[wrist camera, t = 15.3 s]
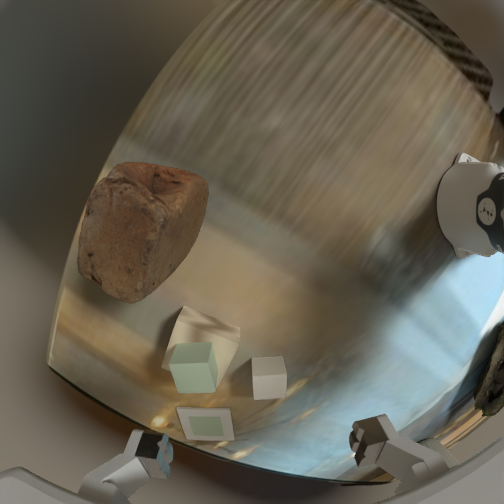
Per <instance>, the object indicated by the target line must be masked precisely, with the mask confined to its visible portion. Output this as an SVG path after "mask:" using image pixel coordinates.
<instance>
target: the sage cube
mask: <svg viewBox="0 0 504 504" xmlns="http://www.w3.org/2000/svg"><path fill="white" fill-rule="evenodd" d="M169 366H170V370H171V373H172V376H173V379H174V382H175V385H176V387H177V390H178V393H215V392H216V384H217V377H218V366H217V362H216V357H215V353H214V348H213V343H212V342H198V343H178V344H177V345H176V347H175V350H174V352H173V355H172V357H171V359H170V362H169Z"/></svg>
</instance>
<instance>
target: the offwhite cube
mask: <svg viewBox="0 0 504 504" xmlns="http://www.w3.org/2000/svg"><path fill="white" fill-rule="evenodd" d="M252 378H253V394H254V400H263V399H277V398H286V390H287V372H286V367H285V363H284V359H283V356H272V357H256V358H252Z"/></svg>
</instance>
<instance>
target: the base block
mask: <svg viewBox="0 0 504 504" xmlns="http://www.w3.org/2000/svg"><path fill="white" fill-rule="evenodd" d="M198 342H212V343H213V348H214V353H215V357H216V362H217V366H218V377H217V384H216V388H218V386H219V384H220V382H221V380H222V378H223V376H224V374H225V372H226V370H227V368H228V366H229V364H230V362H231V360H232V358H233V356H234V354H235V352H236V350H237V348H238V346H239V344H240V327H237V326H234V325H232V324H229V323H226V322H224V321H221V320H218V319H216V318H213V317H211V316H208V315H205V314H203V313H200V312H198V311H195V310H193V309H191V308H188V307H186V306H183V308H182V310H181V312H180V314H179V316H178V318H177V320H176V323H175V326H174V329H173V332H172V335H171V338H170V341H169V344H168V347H167V350H166V353H165V356H164V359H163V362H162V365H161V368H163V369H166V370H168V371H171V370H170V366H169V362H170V359H171V357H172V355H173V352H174V350H175V347H176V345H177V344H178V343H198Z"/></svg>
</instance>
